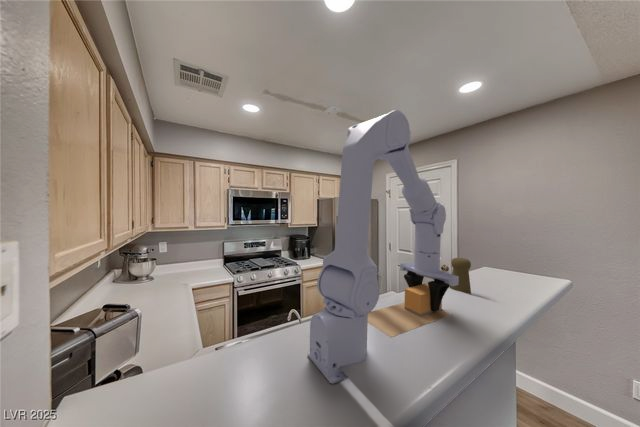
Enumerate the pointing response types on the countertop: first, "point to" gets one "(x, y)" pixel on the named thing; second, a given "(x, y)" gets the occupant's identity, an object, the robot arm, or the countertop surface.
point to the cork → (461, 274)
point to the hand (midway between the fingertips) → (425, 306)
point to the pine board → (401, 319)
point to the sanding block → (419, 300)
